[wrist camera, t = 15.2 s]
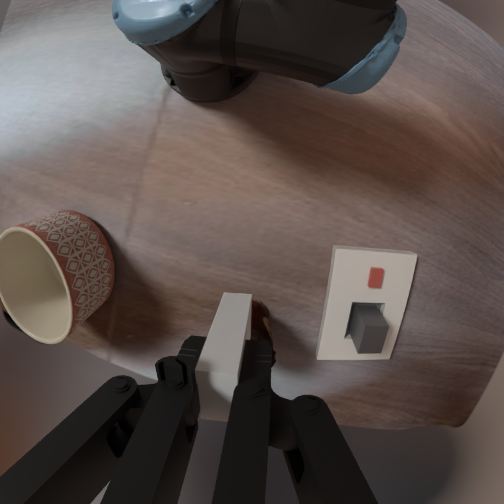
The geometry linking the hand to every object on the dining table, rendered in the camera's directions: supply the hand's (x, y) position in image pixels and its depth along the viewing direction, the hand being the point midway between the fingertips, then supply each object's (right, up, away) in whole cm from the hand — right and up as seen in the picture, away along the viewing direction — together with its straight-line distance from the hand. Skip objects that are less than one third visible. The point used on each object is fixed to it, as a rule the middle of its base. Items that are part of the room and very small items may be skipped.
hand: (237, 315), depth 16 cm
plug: (+19, -8, +31) cm, 37 cm away
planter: (-32, +2, +32) cm, 46 cm away
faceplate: (+20, -5, +31) cm, 37 cm away
